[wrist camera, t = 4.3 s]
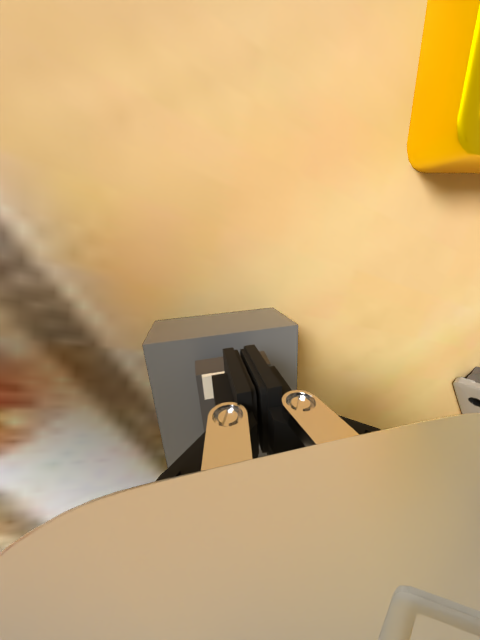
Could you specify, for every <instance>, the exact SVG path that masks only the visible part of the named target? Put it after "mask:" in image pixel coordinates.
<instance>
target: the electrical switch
mask: <svg viewBox="0 0 480 640" xmlns="http://www.w3.org/2000/svg"><path fill="white" fill-rule="evenodd" d="M453 386H454V389H455V392H456V396H457V399H458V402H459V406H460V409H461V412H462V414H470V413H480V367H475V368H474V370H473V371H472V373H471V374H470V375H468V377H467V379H466V378H463V377H459V378H456V379H455V381H454V383H453Z"/></svg>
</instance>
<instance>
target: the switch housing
mask: <svg viewBox="0 0 480 640" xmlns="http://www.w3.org/2000/svg"><path fill="white" fill-rule="evenodd" d="M247 345H255V346H256V348H257V349H258V351H264V352H265V354H266V356H267V358H268V359H269V361H270V363H271V366H275V367H276V369H277V370H278V371H279V373H280V374H281V376H282V377H283V378H284V380H285V381H286V383H287V384H288V385H289V387H290V388H291V390H292V391H293V390H297V355H298V324H296V323H295V322H293V321H292V320H290V319H289V318H287V317H286V316H284V315H283V314H281V313H280V312H279V311H277V310H276V309H274V308H266V309H257V310H248V311H239V312H230V313H221V314H212V315H203V316H194V317H185V318H176V319H167V320H158V321H155V322H154V324H153V326H152V328H151V330H150V331H149V333H148V335H147V337H146V339H145V341H144V343H143V344H142V346H143V350H144V355H145V360H146V365H147V370H148V375H149V380H150V384H151V389H152V394H153V399H154V404H155V409H156V413H157V418H158V423H159V428H160V433H161V438H162V442H163V447H164V452H165V457H166V462H167V467H168V468H169V467H170V466H171V465H172V464H173V463H174V462H175V461H176V460H177V459H178V458H179V457H180V456H181V455H182V454H183V453H184V452H185V451H186V450H187V449H188V448H189V447H190V446H191V445H192V444H193V443H194V442H195V441H196V440H197V439H198V438H199V437H200V436H201V435H202V434H203V433H204V428H203V421H202V415H201V408H200V401H199V395H198V388H197V381H196V373H195V361H197V360H204V359H210V358H217V357H223V349H225V348H232V347H233V348H234V350H238V352H239V354H240V349H244V346H247ZM263 456H268V455H267V453H262V451H261V448H260V445H259V454H258V458H259V457H263Z"/></svg>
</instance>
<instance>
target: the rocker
mask: <svg viewBox="0 0 480 640" xmlns="http://www.w3.org/2000/svg"><path fill="white" fill-rule="evenodd" d="M259 352H260V354H261V355H262V357H263V358H264V360H265V361H266V363H267V364H268V366H271V363H270V361H269V359H268V358H267V356H266V354H265V352H264V351H259ZM195 373H196V381H197V388H198V395H199V401H200V408H201V415H202V421H203V428H204V432H205V431H206V427H207V420H208V415H209V412H210V411H211V410H212V408H214V407H215V403H214V394H213V386H212V376H211V375H217V374H224V373H225V371H224V360H223V357H217V358H210V359H204V360H197V361H195Z"/></svg>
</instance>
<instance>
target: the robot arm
mask: <svg viewBox="0 0 480 640" xmlns="http://www.w3.org/2000/svg"><path fill="white" fill-rule="evenodd" d="M223 360H224V371H225V373H224V374H217V375H211V376H212V386H213V394H214V403H215V407H214V408H212V410H211V411H210V412H209V415H208V420H207V427H206V431H205V432H204V433H203V434H202V435H201V436H200V437H199V438H198V439H197V440H196V441H195V442H194V443H193V444H192V445H191V446H190V447H189V448H188V449H187V450H186V451H185V452H184V453H183V454H182V455H181V456H180V457H179V458H178V459H177V460H176V461H175V462H174V463H173V464H172V465H171V466H170V467H169V468H168V469H167V470H166V471H165V472H164V473H162V474H161V475H160V476H159V478H158V479H157V480H156V481H155V482H151V483H148V484H144V485H140V486H136V487H132V488H129V489H125V490H121V491H117V492H114V493H111V494H108V495H105V496H102V497H99V498H96V499H93V500H91V501H88V502H86V503H84V504H81V505H79V506H77V507H75V508H72V509H70V510H68V511H65V512H64V513H62V514H60V515H58V516H56V517H54V518H53V519H51V520H49V521H47V522H45V523H43V524H42V525H40V526H38V527H36V528H35V529H33V530H32V531H30V532H28V533H27V534H25V535H24V536H22V537H21V538H19V539H18V540H16V541H15V542H14V543H12V544H11V545H9V546H8V547H6V548H5V549H4V550H3V551H2V552H1V553H0V640H480V413H470V414H460V415H453V416H447V417H441V418H436V419H430V420H425V421H421V422H416V423H411V424H407V425H402V426H398V427H393V428H389V429H384V430H380V429H378V428H375V427H372V426H369V425H366V424H363V423H360V422H357V421H354V420H351V419H348V418H345V417H342V416H339V415H337V414H336V413H335V412H333V411H332V410H331V409H330V408H329V407H328V406H327V405H326V404H324V403H323V402H322V401H321V400H320V399H319V398H318V397H317V396H315V395H314V394H312V393H310V392H307V391H303V390H293V391H292V390H291V388H290V387H289V385H288V384H287V383H286V381H285V380H284V378H283V377H282V376H281V374H280V373H279V371H278V370H277V369H276V367H275V366H268V364H267V363H266V361H265V360H264V358H263V357H262V355H261V354H260V352H259V351H258V349H257V348H256V346H255V345H247V346H244V349H240V354H239V352H238V350H234V348H233V347H232V348H225V349H223ZM259 445H260V448H261V451H262V453H267V455H268V456H263V457H259V458H258V454H259Z"/></svg>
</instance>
